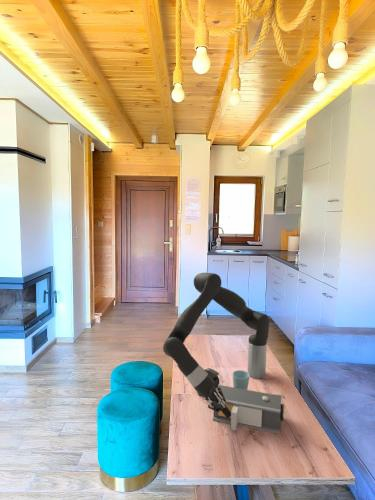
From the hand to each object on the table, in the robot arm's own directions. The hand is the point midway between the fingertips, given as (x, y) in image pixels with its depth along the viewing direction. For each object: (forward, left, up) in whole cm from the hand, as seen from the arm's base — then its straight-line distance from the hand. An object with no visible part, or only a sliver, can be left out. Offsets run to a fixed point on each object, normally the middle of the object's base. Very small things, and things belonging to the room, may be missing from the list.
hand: (229, 415), depth 121 cm
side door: (-2, +6, -5) cm, 8 cm away
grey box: (-10, +5, -6) cm, 13 cm away
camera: (-26, -15, -6) cm, 30 cm away
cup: (-25, 0, -6) cm, 26 cm away
